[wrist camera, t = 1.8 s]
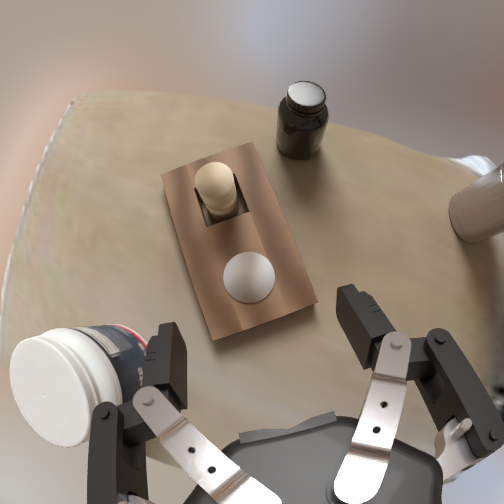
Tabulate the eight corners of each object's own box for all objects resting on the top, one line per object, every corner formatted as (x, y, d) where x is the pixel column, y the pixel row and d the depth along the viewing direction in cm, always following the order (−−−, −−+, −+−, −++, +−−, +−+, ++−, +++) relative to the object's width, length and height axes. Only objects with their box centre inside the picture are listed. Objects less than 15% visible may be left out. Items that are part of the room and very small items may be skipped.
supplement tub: (150, 419, 35) (89, 477, 17) (81, 381, 36) (2, 408, 18) (173, 344, 37) (108, 372, 19) (99, 309, 38) (12, 306, 20)
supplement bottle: (308, 122, 42) (320, 71, 31) (325, 155, 41) (345, 109, 29) (269, 131, 42) (271, 80, 30) (284, 166, 41) (292, 119, 29)
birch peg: (232, 187, 41) (226, 157, 32) (243, 214, 40) (238, 189, 31) (204, 197, 40) (190, 169, 32) (213, 224, 40) (200, 202, 31)
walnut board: (252, 150, 42) (252, 141, 39) (314, 302, 37) (318, 302, 35) (165, 181, 41) (160, 174, 38) (215, 338, 37) (212, 340, 34)
